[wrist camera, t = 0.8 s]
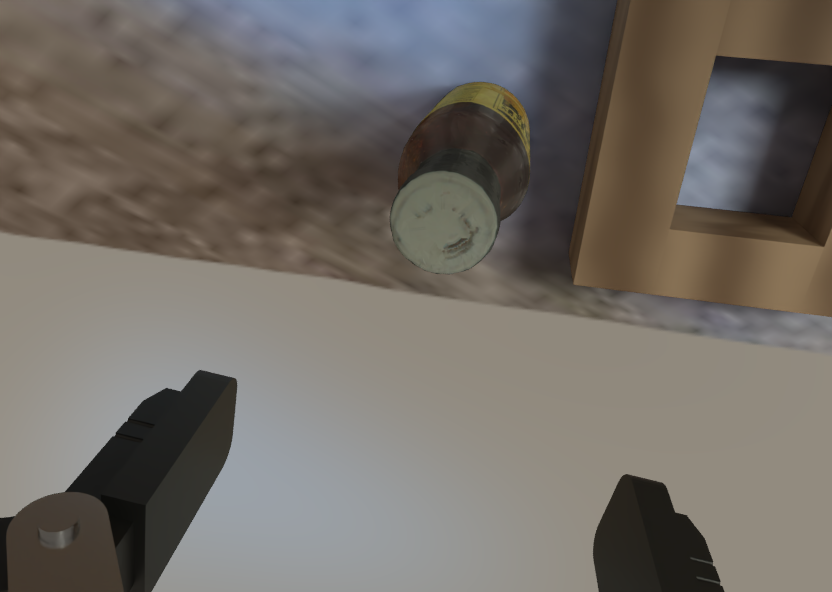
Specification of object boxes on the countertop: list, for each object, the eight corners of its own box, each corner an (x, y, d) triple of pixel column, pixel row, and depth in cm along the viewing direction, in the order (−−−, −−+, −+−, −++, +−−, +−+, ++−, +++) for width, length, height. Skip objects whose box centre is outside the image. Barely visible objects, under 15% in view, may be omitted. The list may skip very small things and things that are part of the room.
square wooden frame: (974, -19, 33) (1042, -18, 29) (845, 286, 42) (883, 323, 37) (625, -43, 35) (639, -46, 31) (568, 253, 44) (573, 284, 39)
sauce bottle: (529, 174, 42) (531, 319, 24) (434, 176, 43) (371, 316, 25) (530, 69, 39) (533, 146, 21) (429, 74, 40) (352, 152, 22)
